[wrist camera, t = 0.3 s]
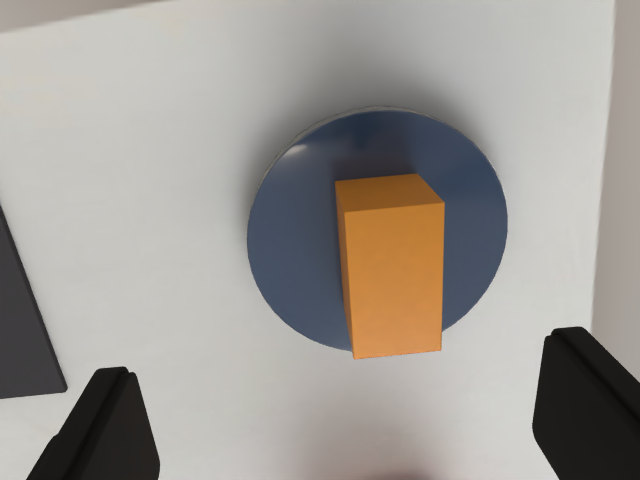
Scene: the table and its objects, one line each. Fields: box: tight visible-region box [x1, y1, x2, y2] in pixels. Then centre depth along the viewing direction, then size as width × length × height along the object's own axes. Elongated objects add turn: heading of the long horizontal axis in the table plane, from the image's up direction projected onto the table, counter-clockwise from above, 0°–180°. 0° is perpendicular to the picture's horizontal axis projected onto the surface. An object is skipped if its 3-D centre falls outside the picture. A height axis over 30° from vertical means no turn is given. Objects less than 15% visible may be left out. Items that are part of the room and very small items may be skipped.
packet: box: [335, 173, 445, 359], centre depth 25 cm, size 8×4×5 cm, turn 5°
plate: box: [247, 107, 508, 351], centre depth 28 cm, size 15×15×2 cm
